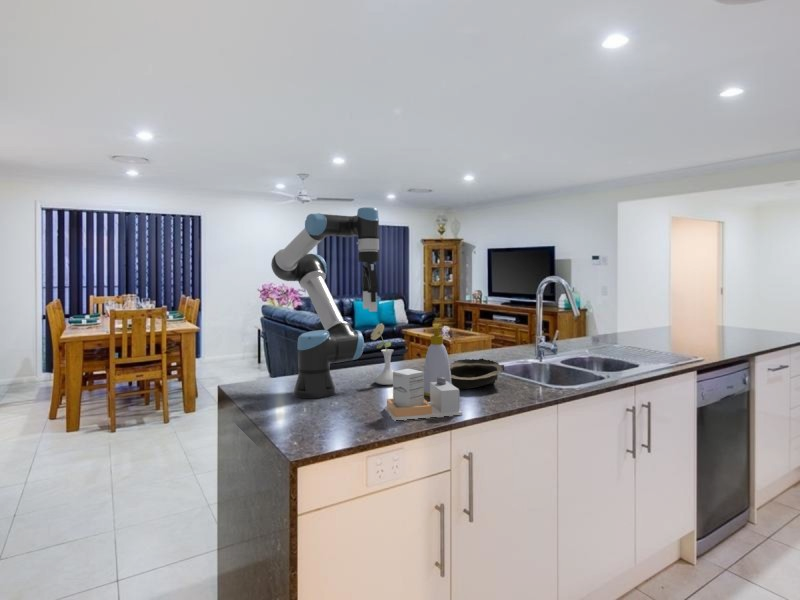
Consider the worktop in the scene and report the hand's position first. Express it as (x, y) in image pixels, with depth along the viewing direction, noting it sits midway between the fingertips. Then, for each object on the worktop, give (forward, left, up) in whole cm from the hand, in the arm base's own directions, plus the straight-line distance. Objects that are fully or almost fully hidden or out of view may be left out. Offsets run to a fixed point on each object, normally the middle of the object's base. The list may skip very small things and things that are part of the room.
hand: (369, 310), depth 172 cm
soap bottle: (+24, -4, -32) cm, 40 cm away
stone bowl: (+41, +4, -32) cm, 52 cm away
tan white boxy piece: (+12, -24, -32) cm, 42 cm away
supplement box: (+8, -24, -31) cm, 40 cm away
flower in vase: (+9, +17, -32) cm, 37 cm away
